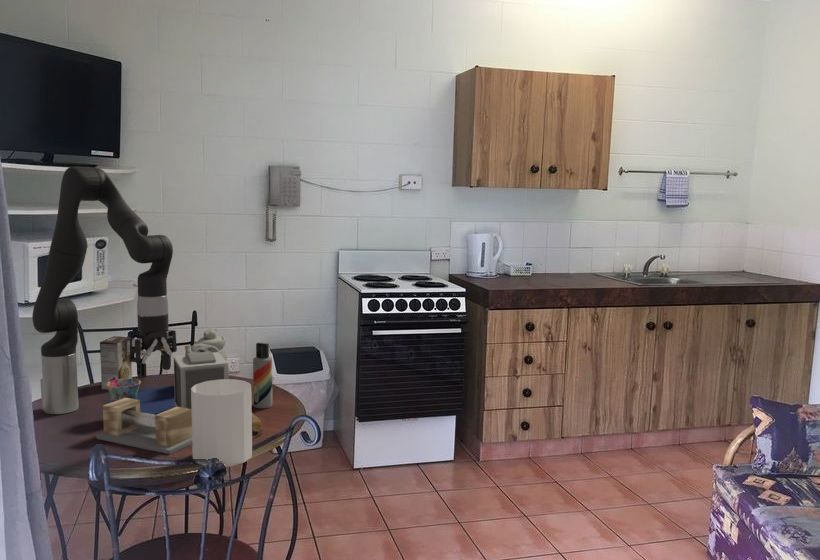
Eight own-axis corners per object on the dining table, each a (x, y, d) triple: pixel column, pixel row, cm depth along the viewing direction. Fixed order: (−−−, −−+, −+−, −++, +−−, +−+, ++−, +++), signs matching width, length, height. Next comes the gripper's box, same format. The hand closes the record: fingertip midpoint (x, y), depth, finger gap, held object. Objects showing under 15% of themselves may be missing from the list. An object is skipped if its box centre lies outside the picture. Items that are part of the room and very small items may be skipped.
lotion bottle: (249, 407, 213) (249, 343, 211) (260, 402, 219) (259, 339, 216) (265, 409, 211) (265, 345, 209) (276, 404, 216) (275, 341, 214)
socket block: (155, 443, 179) (154, 415, 178) (177, 434, 186) (176, 406, 185) (170, 446, 177) (170, 418, 176) (192, 437, 184) (191, 409, 183)
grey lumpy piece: (188, 394, 226) (187, 337, 224) (174, 383, 238) (172, 329, 236) (236, 386, 236) (236, 331, 233) (220, 376, 248) (219, 324, 245)
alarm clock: (230, 419, 202) (229, 358, 199) (183, 426, 196) (181, 362, 194) (218, 402, 218) (217, 345, 216) (174, 407, 212) (172, 348, 210)
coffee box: (115, 382, 238) (113, 335, 236) (133, 382, 238) (131, 336, 236) (100, 389, 229) (98, 341, 227) (119, 390, 229) (117, 342, 227)
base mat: (96, 438, 185) (96, 435, 185) (131, 425, 196) (131, 421, 195) (169, 454, 175) (169, 450, 175) (202, 439, 186) (202, 435, 186)
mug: (130, 424, 196) (128, 388, 195) (100, 422, 198) (98, 385, 196) (153, 411, 208) (152, 377, 206) (124, 409, 209) (123, 375, 208)
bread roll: (237, 455, 185) (246, 431, 182) (212, 432, 189) (221, 408, 186) (264, 444, 193) (272, 421, 190) (239, 422, 197) (248, 399, 195)
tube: (118, 429, 186) (118, 410, 185) (134, 423, 191) (133, 404, 190) (165, 439, 179) (164, 419, 179) (179, 432, 184) (179, 413, 184)
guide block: (103, 433, 186) (102, 405, 185) (126, 424, 193) (126, 397, 192) (117, 435, 184) (116, 408, 183) (140, 426, 191) (139, 400, 190)
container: (182, 465, 169) (180, 393, 166) (208, 444, 183) (207, 377, 180) (238, 470, 166) (237, 397, 164) (261, 448, 180) (260, 381, 178)
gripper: (161, 307, 188) (163, 365, 190) (120, 315, 175) (122, 378, 177) (183, 309, 185) (184, 368, 187) (143, 318, 172) (145, 381, 174)
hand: (154, 373), depth 182 cm, fingers open, 8 cm apart
